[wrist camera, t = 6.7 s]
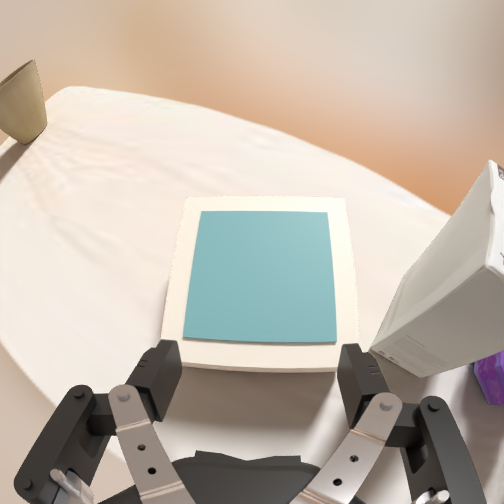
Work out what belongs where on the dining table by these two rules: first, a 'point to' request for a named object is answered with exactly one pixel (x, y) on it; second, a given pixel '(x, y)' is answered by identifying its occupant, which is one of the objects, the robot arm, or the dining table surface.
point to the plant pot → (22, 104)
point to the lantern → (491, 377)
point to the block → (262, 284)
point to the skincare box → (453, 289)
